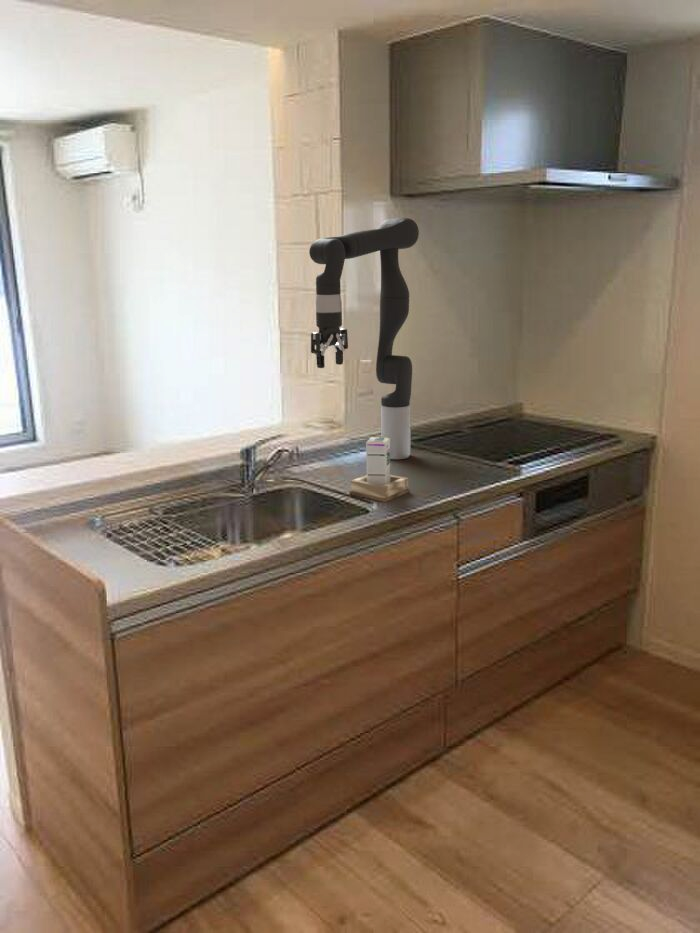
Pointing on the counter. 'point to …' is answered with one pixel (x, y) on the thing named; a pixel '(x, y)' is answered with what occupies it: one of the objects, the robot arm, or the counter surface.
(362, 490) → the base
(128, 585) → the counter surface
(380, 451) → the syrup box
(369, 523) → the counter surface
